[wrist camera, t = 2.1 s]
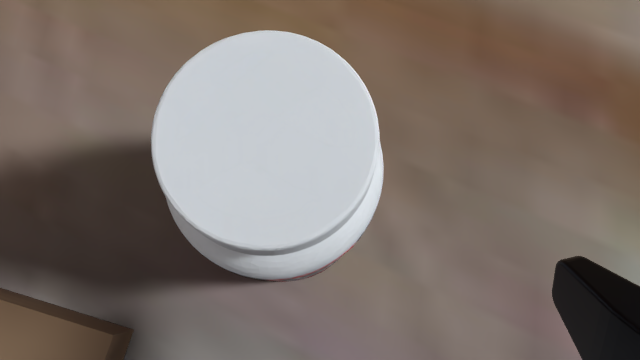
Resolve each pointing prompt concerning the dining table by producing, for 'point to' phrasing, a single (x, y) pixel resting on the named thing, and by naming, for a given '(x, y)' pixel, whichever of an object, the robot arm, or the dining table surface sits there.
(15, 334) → the wooden board
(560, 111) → the dining table surface
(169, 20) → the dining table surface
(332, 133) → the pill bottle
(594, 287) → the robot arm
